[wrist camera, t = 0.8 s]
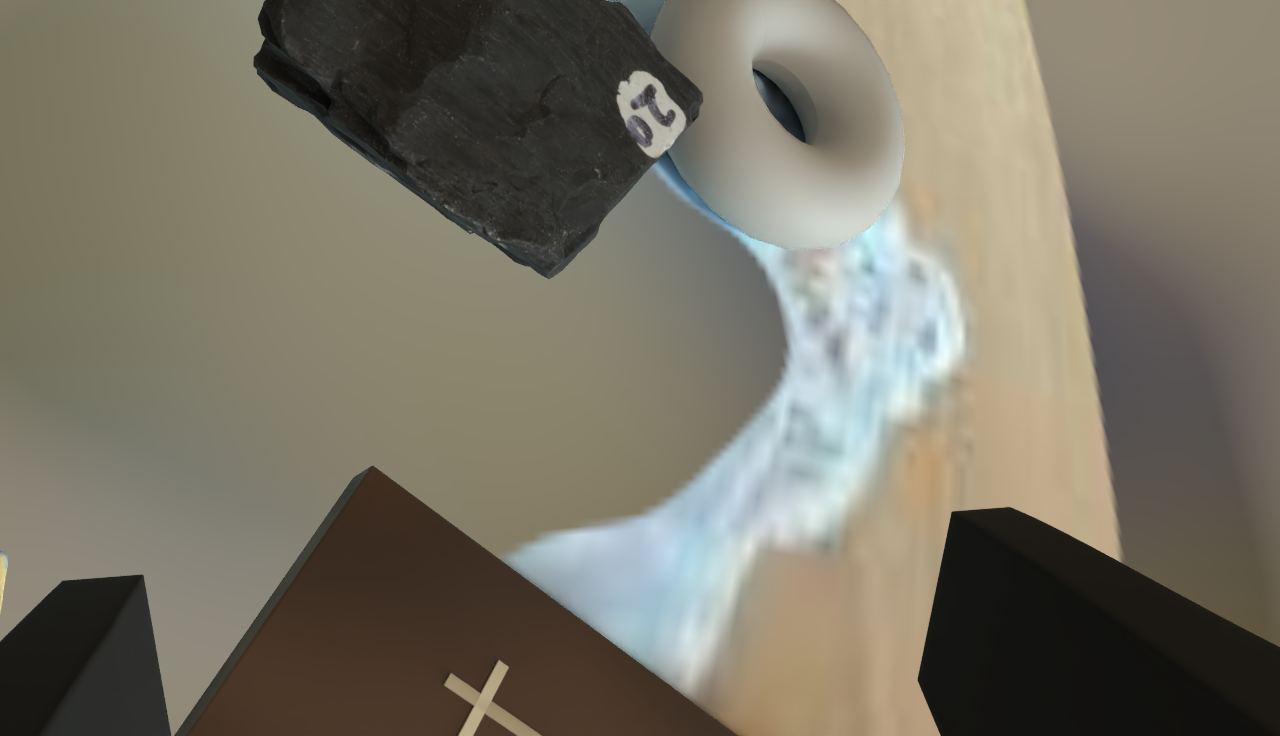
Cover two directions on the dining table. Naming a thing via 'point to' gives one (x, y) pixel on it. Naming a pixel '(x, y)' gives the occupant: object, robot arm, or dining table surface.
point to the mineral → (488, 106)
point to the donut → (758, 144)
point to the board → (425, 644)
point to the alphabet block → (2, 573)
